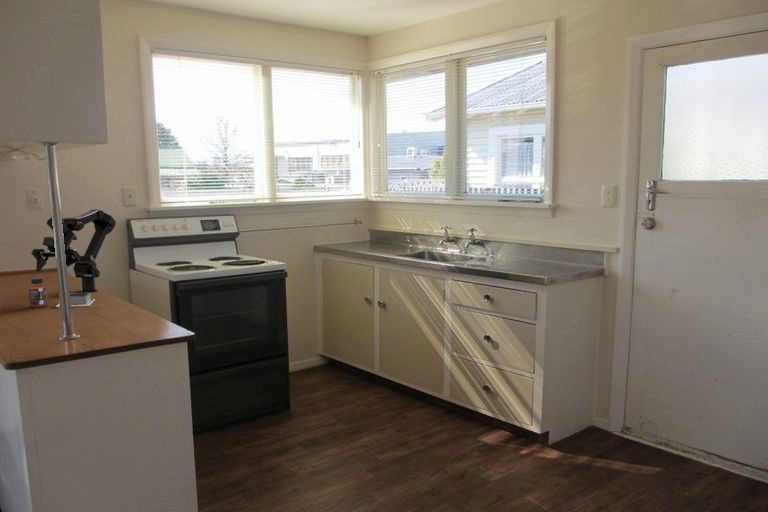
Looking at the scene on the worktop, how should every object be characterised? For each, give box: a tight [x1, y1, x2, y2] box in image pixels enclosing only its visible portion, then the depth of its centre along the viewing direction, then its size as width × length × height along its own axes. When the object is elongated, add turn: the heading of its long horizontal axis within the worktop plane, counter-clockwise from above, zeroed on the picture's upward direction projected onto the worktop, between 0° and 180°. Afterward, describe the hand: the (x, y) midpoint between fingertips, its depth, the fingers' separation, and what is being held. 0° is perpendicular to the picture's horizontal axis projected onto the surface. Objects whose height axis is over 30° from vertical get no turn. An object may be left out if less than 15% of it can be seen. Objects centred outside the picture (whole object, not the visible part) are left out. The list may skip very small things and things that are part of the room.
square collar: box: [55, 292, 95, 308], centre depth 248 cm, size 12×12×4 cm
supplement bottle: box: [28, 277, 48, 308], centre depth 243 cm, size 6×6×11 cm
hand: (47, 271), depth 249 cm, fingers open, 9 cm apart
